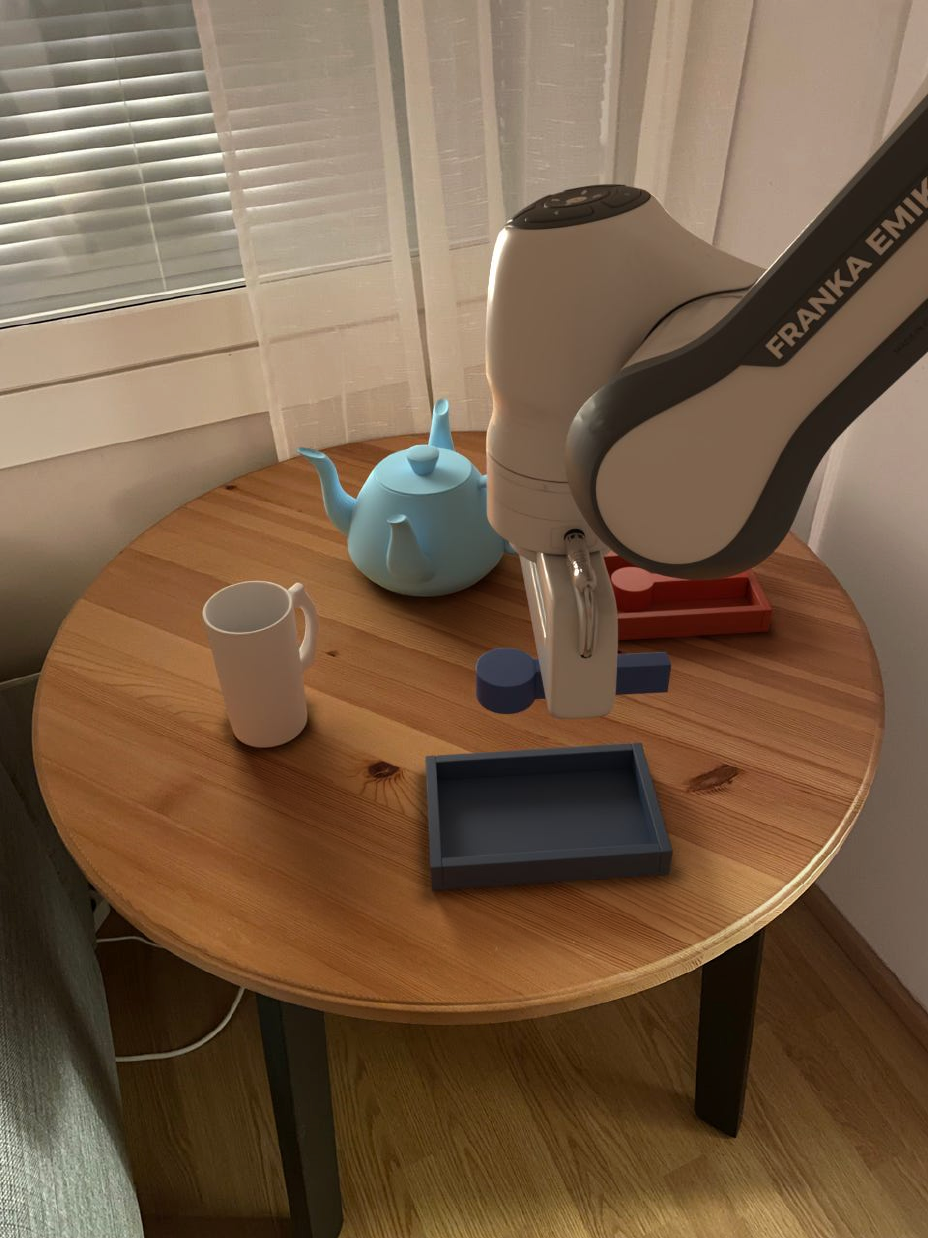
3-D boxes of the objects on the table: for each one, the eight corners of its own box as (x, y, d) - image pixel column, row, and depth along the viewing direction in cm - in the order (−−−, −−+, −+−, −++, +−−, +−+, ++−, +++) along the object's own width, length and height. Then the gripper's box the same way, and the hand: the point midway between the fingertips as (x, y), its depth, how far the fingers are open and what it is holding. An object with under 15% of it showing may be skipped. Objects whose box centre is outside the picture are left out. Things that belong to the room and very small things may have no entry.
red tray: (735, 565, 100) (739, 544, 98) (768, 631, 91) (772, 609, 90) (569, 574, 99) (570, 553, 97) (586, 642, 91) (588, 620, 89)
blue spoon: (659, 666, 69) (662, 639, 67) (672, 706, 66) (676, 678, 64) (474, 676, 68) (473, 648, 67) (478, 716, 65) (477, 688, 64)
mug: (268, 763, 80) (244, 646, 72) (211, 728, 83) (183, 613, 75) (354, 694, 86) (340, 579, 78) (298, 664, 89) (279, 552, 82)
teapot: (303, 554, 103) (288, 447, 95) (447, 493, 112) (443, 391, 104) (401, 634, 92) (392, 520, 85) (551, 559, 101) (555, 450, 94)
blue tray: (638, 765, 78) (641, 742, 77) (669, 875, 70) (673, 851, 69) (426, 778, 78) (425, 755, 76) (432, 891, 69) (430, 868, 68)
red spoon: (737, 581, 97) (740, 560, 95) (748, 606, 93) (752, 585, 92) (606, 588, 96) (607, 567, 95) (613, 613, 93) (615, 592, 92)
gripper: (656, 593, 49) (633, 786, 58) (590, 407, 65) (579, 580, 74) (528, 599, 49) (524, 793, 58) (493, 412, 65) (494, 585, 74)
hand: (555, 672), depth 66 cm, fingers closed on blue spoon, 1 cm apart
